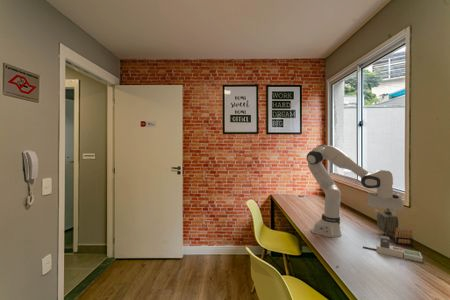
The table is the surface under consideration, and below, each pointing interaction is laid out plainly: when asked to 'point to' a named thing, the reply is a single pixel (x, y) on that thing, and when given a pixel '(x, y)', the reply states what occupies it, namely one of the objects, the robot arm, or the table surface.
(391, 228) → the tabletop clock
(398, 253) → the power strip
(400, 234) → the ammunition clip
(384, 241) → the block
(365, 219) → the table surface
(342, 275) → the table surface
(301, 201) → the table surface
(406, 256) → the parts tray
